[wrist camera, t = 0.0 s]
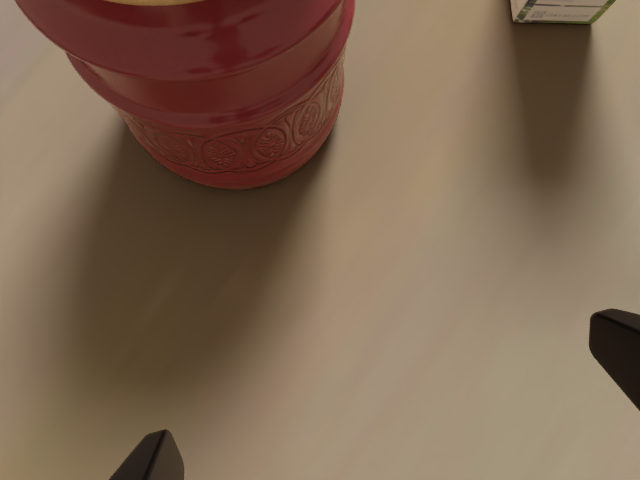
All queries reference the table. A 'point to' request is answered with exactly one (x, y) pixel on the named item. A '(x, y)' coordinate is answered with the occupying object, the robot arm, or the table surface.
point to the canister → (211, 77)
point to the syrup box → (558, 11)
